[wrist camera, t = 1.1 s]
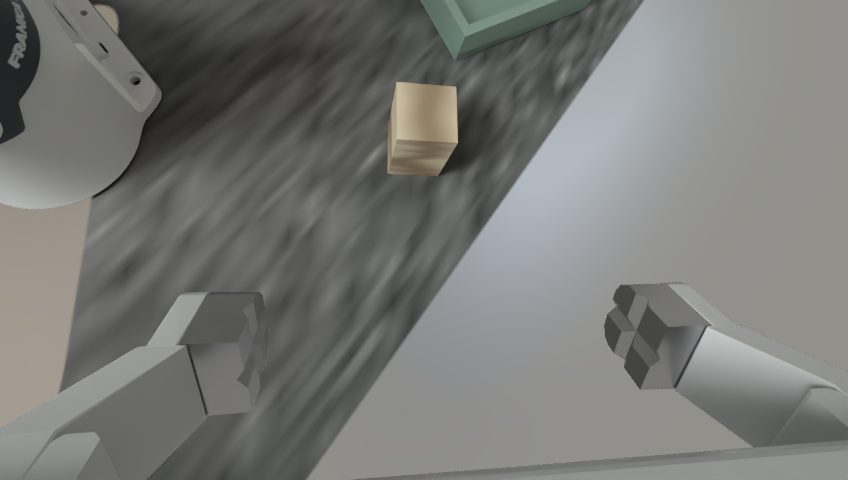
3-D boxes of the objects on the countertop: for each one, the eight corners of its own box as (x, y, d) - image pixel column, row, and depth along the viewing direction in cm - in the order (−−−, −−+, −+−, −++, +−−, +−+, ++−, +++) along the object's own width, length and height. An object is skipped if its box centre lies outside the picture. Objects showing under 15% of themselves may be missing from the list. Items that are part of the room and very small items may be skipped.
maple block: (387, 173, 41) (396, 139, 33) (387, 126, 42) (396, 81, 34) (437, 176, 42) (458, 142, 34) (436, 129, 43) (456, 86, 35)
